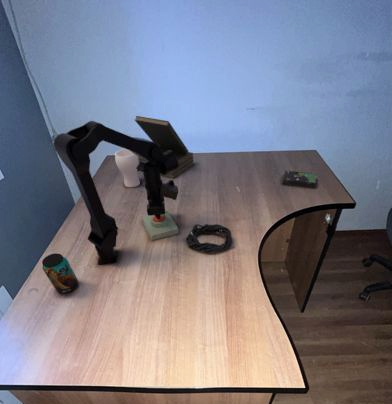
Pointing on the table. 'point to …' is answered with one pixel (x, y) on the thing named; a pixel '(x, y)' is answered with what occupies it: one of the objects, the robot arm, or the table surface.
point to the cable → (209, 230)
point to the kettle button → (159, 219)
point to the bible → (166, 142)
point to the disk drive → (299, 179)
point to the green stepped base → (160, 226)
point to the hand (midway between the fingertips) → (158, 218)
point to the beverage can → (60, 273)
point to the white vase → (128, 167)
